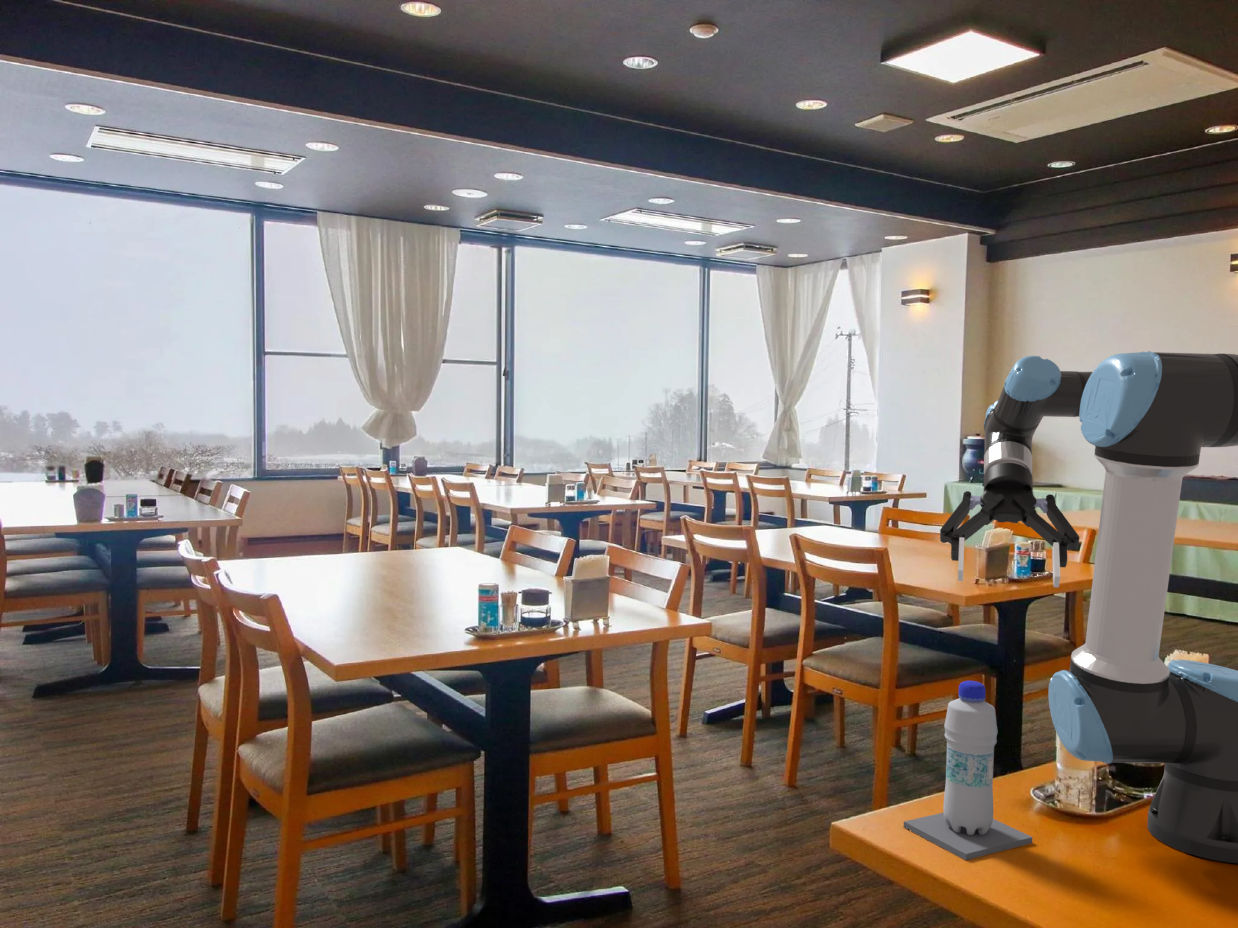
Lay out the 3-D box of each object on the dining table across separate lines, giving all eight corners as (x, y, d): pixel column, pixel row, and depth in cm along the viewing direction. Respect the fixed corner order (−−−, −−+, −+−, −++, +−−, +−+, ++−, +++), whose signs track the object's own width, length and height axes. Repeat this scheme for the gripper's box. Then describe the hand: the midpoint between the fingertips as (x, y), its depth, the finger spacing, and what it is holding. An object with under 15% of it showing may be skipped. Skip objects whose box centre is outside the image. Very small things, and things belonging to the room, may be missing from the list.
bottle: (998, 841, 126) (1003, 689, 125) (944, 836, 127) (949, 685, 126) (989, 821, 132) (994, 676, 132) (938, 816, 134) (942, 673, 133)
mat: (1032, 842, 127) (1032, 836, 127) (965, 860, 122) (965, 853, 122) (967, 812, 137) (967, 806, 137) (903, 826, 132) (903, 821, 132)
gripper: (1088, 493, 159) (1096, 599, 146) (929, 488, 168) (922, 587, 154) (1093, 462, 154) (1101, 569, 140) (928, 458, 162) (921, 558, 149)
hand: (1007, 578), depth 147 cm, fingers open, 13 cm apart
